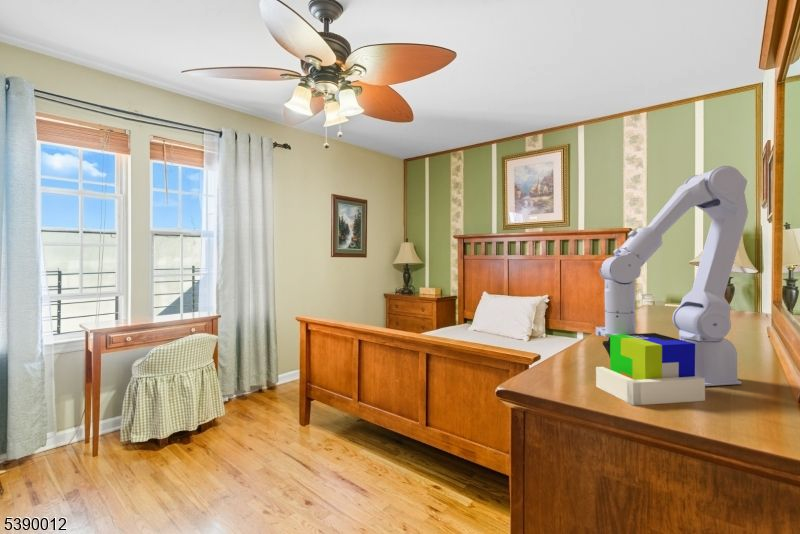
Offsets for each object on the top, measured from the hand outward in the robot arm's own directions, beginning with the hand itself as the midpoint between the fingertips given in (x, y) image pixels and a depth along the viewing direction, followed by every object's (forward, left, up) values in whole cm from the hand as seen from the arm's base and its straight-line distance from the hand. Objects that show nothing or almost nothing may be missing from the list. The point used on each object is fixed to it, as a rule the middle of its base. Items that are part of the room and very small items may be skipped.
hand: (620, 374), depth 85 cm
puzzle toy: (-1, +7, -1) cm, 7 cm away
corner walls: (+1, +9, -1) cm, 9 cm away
